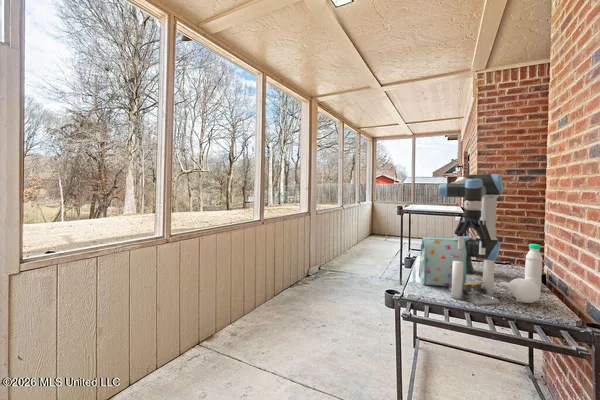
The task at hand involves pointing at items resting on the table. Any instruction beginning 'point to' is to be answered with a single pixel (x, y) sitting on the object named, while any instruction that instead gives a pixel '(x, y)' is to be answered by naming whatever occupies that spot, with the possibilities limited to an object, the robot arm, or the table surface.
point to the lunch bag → (440, 261)
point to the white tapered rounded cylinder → (457, 280)
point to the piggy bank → (523, 290)
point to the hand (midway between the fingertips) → (470, 251)
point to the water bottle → (534, 265)
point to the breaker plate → (478, 297)
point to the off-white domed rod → (488, 277)
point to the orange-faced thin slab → (476, 287)
